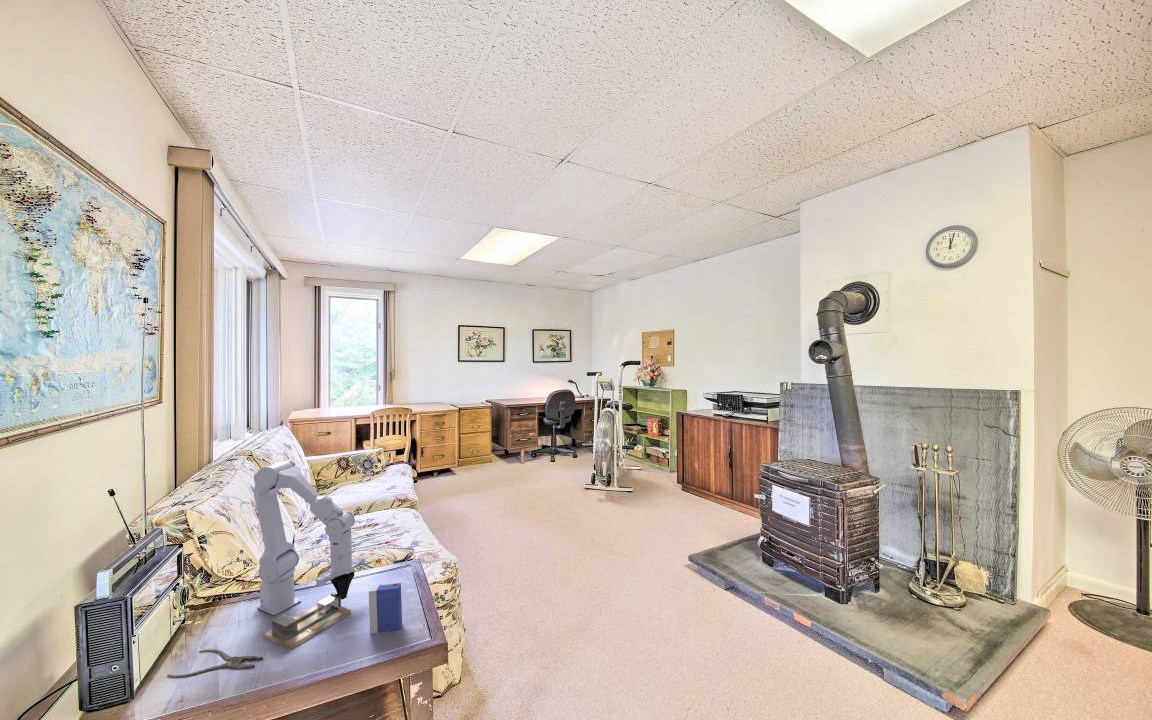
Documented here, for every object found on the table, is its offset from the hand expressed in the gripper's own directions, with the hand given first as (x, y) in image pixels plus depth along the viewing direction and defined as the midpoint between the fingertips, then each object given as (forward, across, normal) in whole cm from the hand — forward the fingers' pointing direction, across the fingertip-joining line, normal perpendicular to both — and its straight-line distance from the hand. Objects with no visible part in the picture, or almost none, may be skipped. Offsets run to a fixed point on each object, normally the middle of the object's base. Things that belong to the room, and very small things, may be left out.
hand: (342, 597), depth 129 cm
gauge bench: (+2, -10, 0) cm, 10 cm away
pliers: (+3, -28, +6) cm, 29 cm away
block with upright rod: (+1, -4, -2) cm, 5 cm away
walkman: (+3, -2, -22) cm, 22 cm away
